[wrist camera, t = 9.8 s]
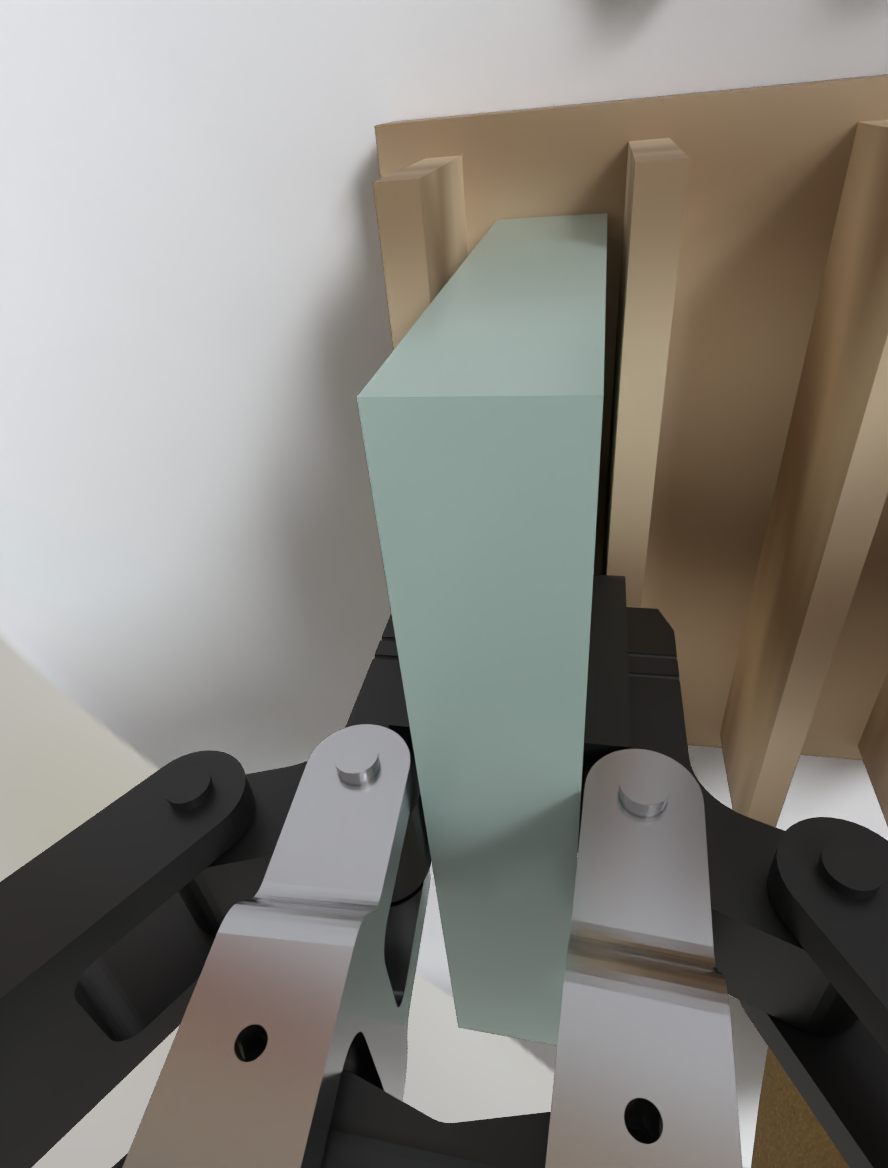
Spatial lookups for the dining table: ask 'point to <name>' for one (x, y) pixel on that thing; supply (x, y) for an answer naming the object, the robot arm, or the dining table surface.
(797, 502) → the rack
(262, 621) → the dining table surface
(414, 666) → the green plate
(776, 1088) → the plant pot
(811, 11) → the dining table surface
